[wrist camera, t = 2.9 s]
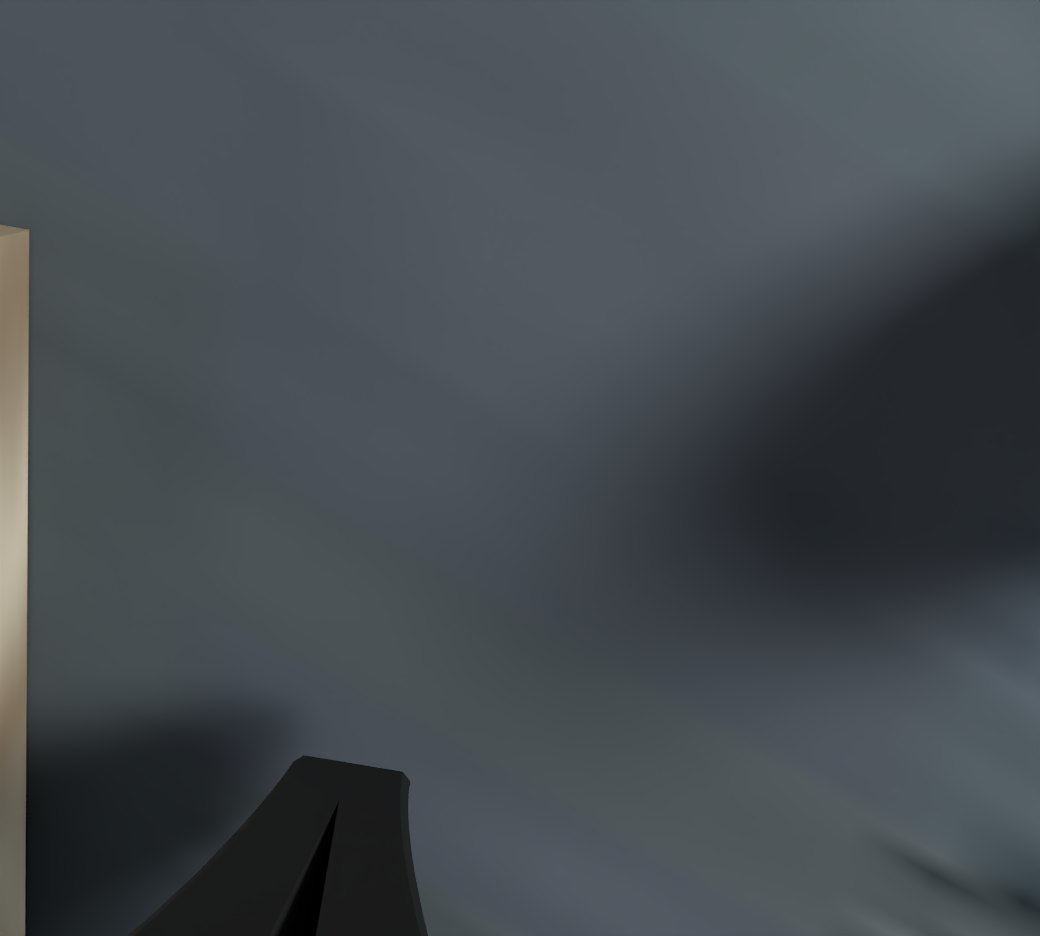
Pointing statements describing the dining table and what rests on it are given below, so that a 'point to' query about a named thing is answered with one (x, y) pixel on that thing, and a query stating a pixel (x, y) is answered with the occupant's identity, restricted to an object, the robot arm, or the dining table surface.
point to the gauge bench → (13, 572)
